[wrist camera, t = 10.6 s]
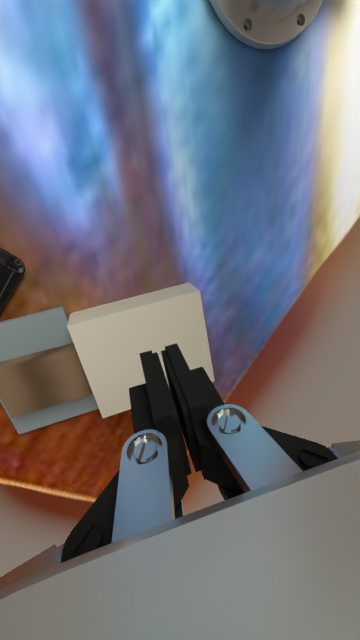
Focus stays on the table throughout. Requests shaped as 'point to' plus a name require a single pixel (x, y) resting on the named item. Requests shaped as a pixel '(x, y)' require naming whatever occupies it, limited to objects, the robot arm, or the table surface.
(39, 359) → the walnut tile
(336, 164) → the table surface
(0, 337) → the mat
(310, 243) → the table surface
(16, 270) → the phone
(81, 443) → the table surface
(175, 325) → the riser
